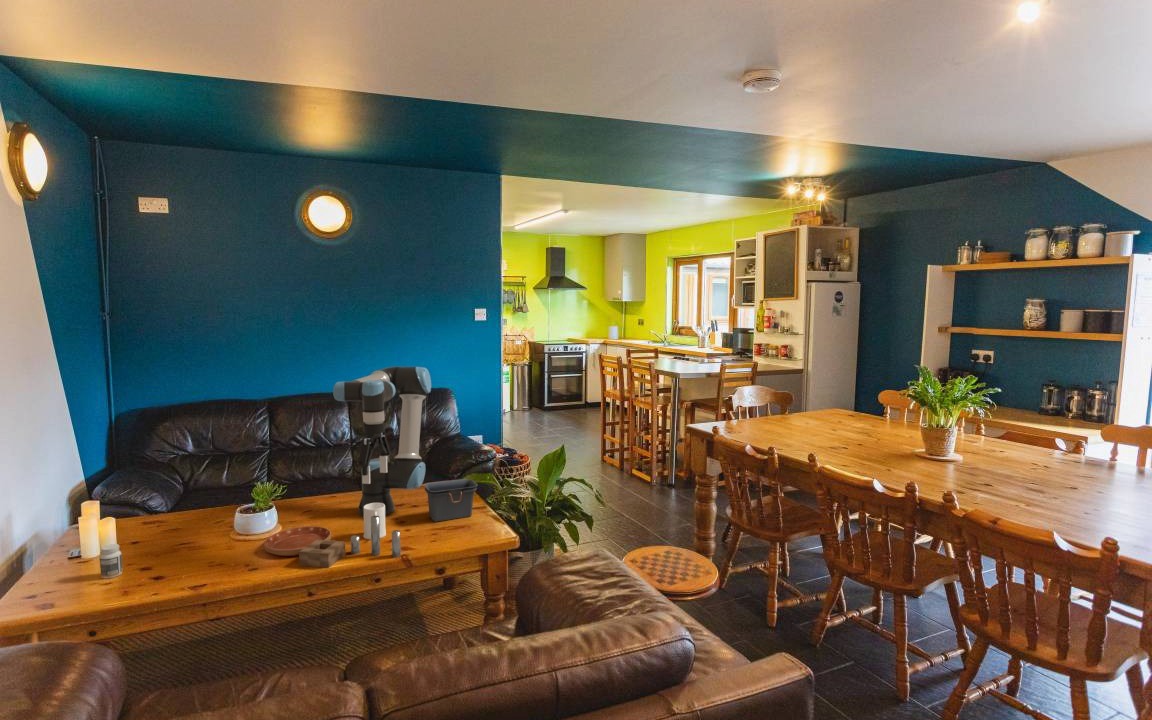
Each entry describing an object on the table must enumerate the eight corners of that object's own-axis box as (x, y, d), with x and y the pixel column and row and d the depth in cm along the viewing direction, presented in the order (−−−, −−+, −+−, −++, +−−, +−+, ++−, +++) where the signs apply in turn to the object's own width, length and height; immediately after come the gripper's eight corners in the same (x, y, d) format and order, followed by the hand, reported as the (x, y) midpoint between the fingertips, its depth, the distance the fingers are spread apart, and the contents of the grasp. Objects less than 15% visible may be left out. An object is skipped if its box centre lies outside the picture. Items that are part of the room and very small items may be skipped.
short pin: (353, 550, 221) (353, 534, 220) (361, 551, 221) (360, 535, 220) (349, 553, 218) (349, 538, 217) (357, 554, 218) (356, 538, 217)
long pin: (373, 552, 220) (373, 515, 219) (381, 552, 219) (380, 515, 218) (369, 555, 217) (369, 518, 216) (377, 556, 216) (376, 518, 215)
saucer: (254, 561, 212) (254, 551, 211) (276, 536, 234) (276, 527, 234) (322, 557, 215) (322, 547, 215) (337, 533, 238) (337, 524, 237)
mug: (386, 541, 230) (385, 511, 229) (362, 543, 227) (362, 513, 226) (386, 530, 241) (385, 501, 240) (363, 532, 238) (363, 503, 237)
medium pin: (394, 553, 219) (393, 530, 218) (402, 554, 218) (401, 530, 217) (390, 557, 216) (390, 533, 215) (398, 557, 215) (398, 533, 214)
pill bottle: (108, 571, 201) (107, 543, 201) (126, 571, 202) (125, 543, 201) (96, 579, 196) (94, 550, 195) (115, 579, 196) (113, 549, 195)
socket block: (317, 552, 219) (317, 539, 218) (345, 554, 217) (345, 541, 217) (299, 565, 208) (299, 551, 208) (328, 567, 206) (328, 554, 206)
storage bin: (470, 508, 268) (469, 477, 267) (481, 519, 255) (481, 486, 253) (422, 515, 258) (422, 483, 257) (431, 527, 245) (431, 493, 243)
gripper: (380, 415, 234) (381, 467, 236) (346, 429, 209) (348, 487, 212) (398, 415, 233) (399, 468, 235) (366, 430, 208) (368, 488, 211)
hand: (375, 477), depth 223 cm, fingers open, 13 cm apart
